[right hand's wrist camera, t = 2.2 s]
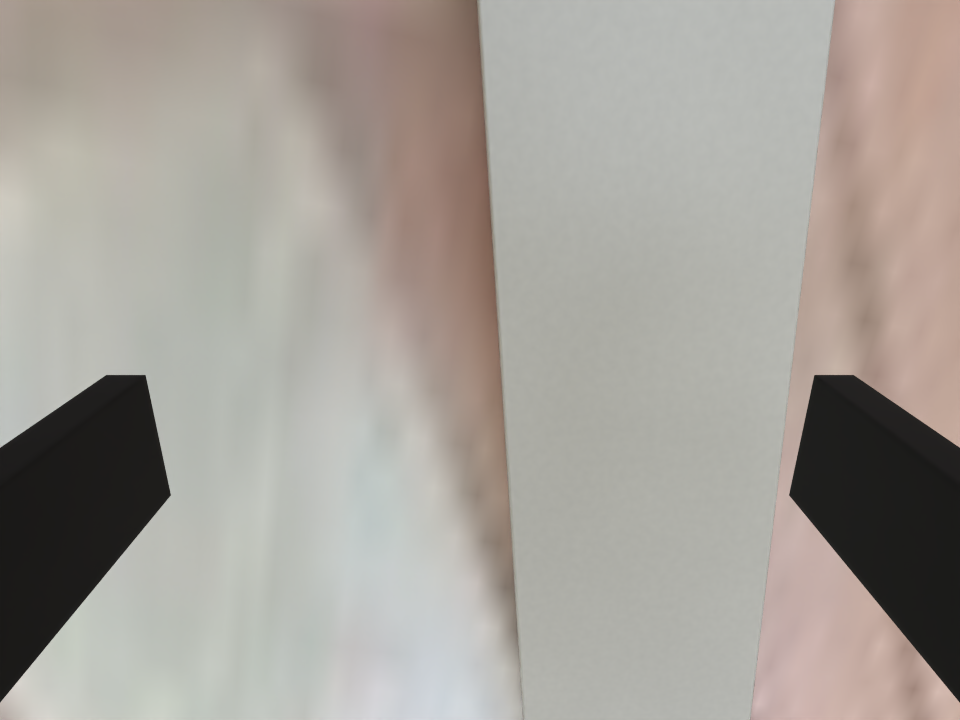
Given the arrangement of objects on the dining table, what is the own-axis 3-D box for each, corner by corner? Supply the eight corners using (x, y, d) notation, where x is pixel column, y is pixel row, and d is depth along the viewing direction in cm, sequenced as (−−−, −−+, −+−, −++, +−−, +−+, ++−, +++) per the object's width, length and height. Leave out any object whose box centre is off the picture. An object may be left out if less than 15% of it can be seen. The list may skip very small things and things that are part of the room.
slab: (468, -136, 22) (463, -238, 16) (757, -161, 22) (869, -275, 16) (540, 992, 48) (549, 1124, 42) (673, 986, 48) (703, 1119, 42)
